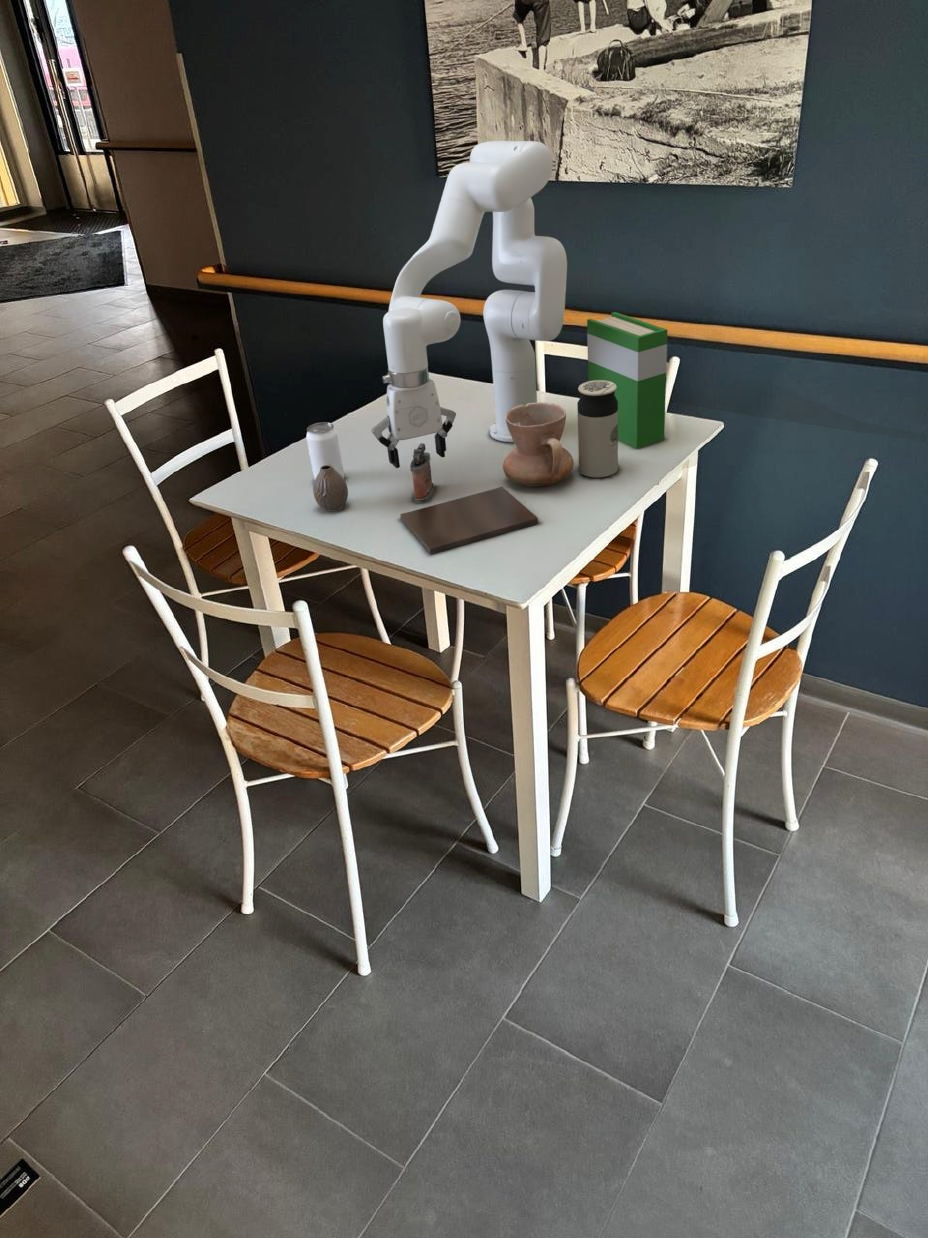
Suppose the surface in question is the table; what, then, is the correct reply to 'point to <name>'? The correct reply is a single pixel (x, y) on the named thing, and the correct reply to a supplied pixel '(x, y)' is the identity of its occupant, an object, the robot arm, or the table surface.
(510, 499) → the walnut board
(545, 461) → the ceramic jug
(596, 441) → the travel mug
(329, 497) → the vase
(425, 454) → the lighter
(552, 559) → the table surface
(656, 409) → the hardback book
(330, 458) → the can
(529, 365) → the robot arm
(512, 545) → the table surface
